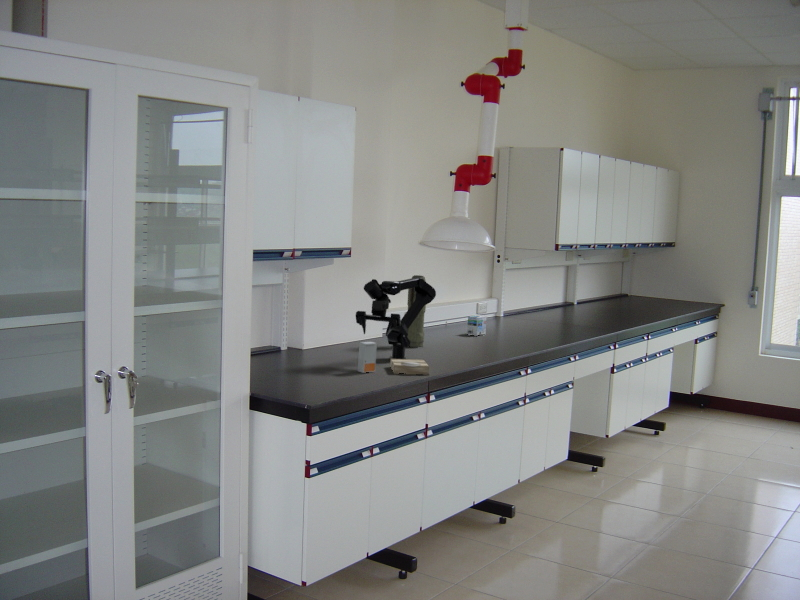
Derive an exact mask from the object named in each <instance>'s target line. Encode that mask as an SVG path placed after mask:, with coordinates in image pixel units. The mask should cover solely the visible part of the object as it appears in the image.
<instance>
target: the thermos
mask: <svg viewBox="0 0 800 600" xmlns="http://www.w3.org/2000/svg"><path fill="white" fill-rule="evenodd" d="M414 277H418V278H422V279H424V281H425V282H426V283H427V281H426V278H425V276H424V275H421V274H419V275H412V277H411V278H414ZM407 291H408V292H407V310H408V309H409V308H410V307H411V305H412V304H413V302H414V301H415V294H416V292H415V291H414V288H410V289H407ZM426 309H427V308H426V305H425V306H424V307H423V308H422V310H421V311H420V313H419V314H418V316H417V317H416V318H415V320H414V321H413V323H412V324H411V326H410V327H409V329H408V336H407V338H408V339H409V340H410V347H409V348H412V347H422V348H424V343H425V342H424V341H425V331H424V325H425V313H426V311H427V310H426Z"/></svg>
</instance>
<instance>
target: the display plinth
mask: <svg viewBox="0 0 800 600" xmlns="http://www.w3.org/2000/svg"><path fill="white" fill-rule="evenodd" d="M389 361H390V362H389V368H390V367H391V368H390V369H391V370H393V371H392V372H393V375H400V374H399V373H404V374H403V375H416V374H423V375H425V376H429V373H430V366H429V365H428V363H427V362H426V361H425V360H424V359H413V358H411V359H410V358H409V359H408V358H406V359H391V358H390V360H389ZM405 373H406V374H405ZM423 375H422V376H423Z"/></svg>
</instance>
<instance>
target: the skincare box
mask: <svg viewBox="0 0 800 600" xmlns="http://www.w3.org/2000/svg"><path fill="white" fill-rule="evenodd" d="M358 344H359V345H358V358H357V359H358V360H357V372H359V373H362V374H365V373H366V372H369V373H375V372H376V364H377V345H378V343H377V342H374V341H361V342H359V343H358ZM366 374H367V373H366Z"/></svg>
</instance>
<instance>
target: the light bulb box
mask: <svg viewBox="0 0 800 600" xmlns="http://www.w3.org/2000/svg"><path fill="white" fill-rule="evenodd" d="M487 317H488V316H486V315H480V314H475V315H469V316H467V329H466V335H467V334H472V335H481V334H485V335H486V331H487V330H486V329H487V319H488V318H487Z"/></svg>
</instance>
